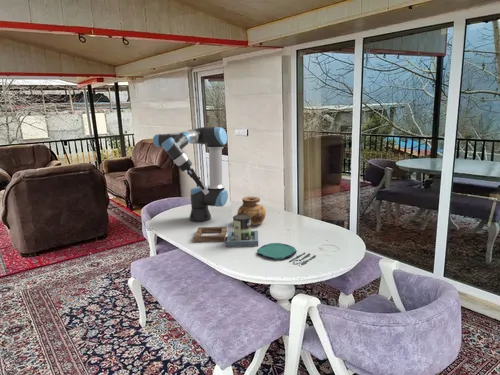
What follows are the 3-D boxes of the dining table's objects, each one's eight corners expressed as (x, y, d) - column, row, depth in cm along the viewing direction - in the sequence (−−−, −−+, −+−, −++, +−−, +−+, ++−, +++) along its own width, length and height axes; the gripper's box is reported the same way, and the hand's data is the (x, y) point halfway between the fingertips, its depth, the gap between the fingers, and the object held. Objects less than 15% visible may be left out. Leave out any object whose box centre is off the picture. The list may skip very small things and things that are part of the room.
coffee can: (252, 236, 222) (252, 214, 219) (249, 243, 212) (248, 219, 209) (236, 236, 224) (235, 213, 221) (232, 242, 214) (230, 219, 211)
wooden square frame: (198, 231, 237) (198, 227, 236) (226, 231, 236) (226, 226, 236) (194, 242, 219) (193, 237, 218) (224, 241, 219) (224, 236, 218)
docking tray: (228, 235, 227) (228, 231, 227) (258, 235, 227) (257, 230, 226) (226, 246, 210) (226, 241, 209) (258, 246, 209) (258, 241, 209)
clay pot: (274, 218, 248) (265, 194, 240) (254, 234, 240) (244, 209, 231) (256, 212, 263) (247, 189, 255) (237, 227, 255) (227, 203, 246)
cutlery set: (273, 243, 213) (273, 239, 212) (318, 257, 193) (318, 252, 193) (250, 254, 198) (250, 250, 198) (297, 270, 179) (297, 266, 178)
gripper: (177, 163, 221) (199, 191, 226) (178, 169, 197) (202, 199, 202) (187, 156, 221) (208, 183, 227) (189, 160, 197) (213, 191, 203)
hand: (206, 191), depth 215 cm, fingers open, 13 cm apart
